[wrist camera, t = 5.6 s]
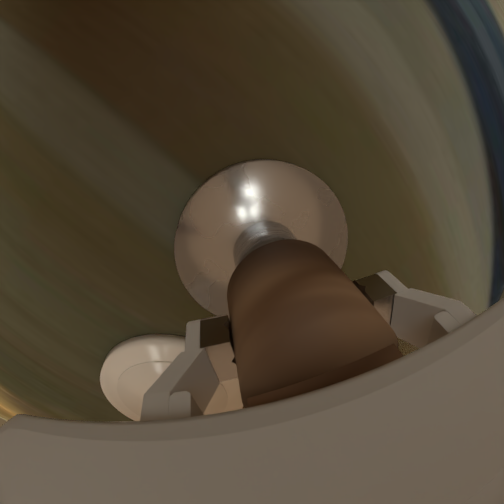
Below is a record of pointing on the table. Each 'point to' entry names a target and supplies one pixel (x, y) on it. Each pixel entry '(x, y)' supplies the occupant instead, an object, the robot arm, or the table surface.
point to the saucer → (152, 374)
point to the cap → (300, 323)
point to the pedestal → (252, 223)
